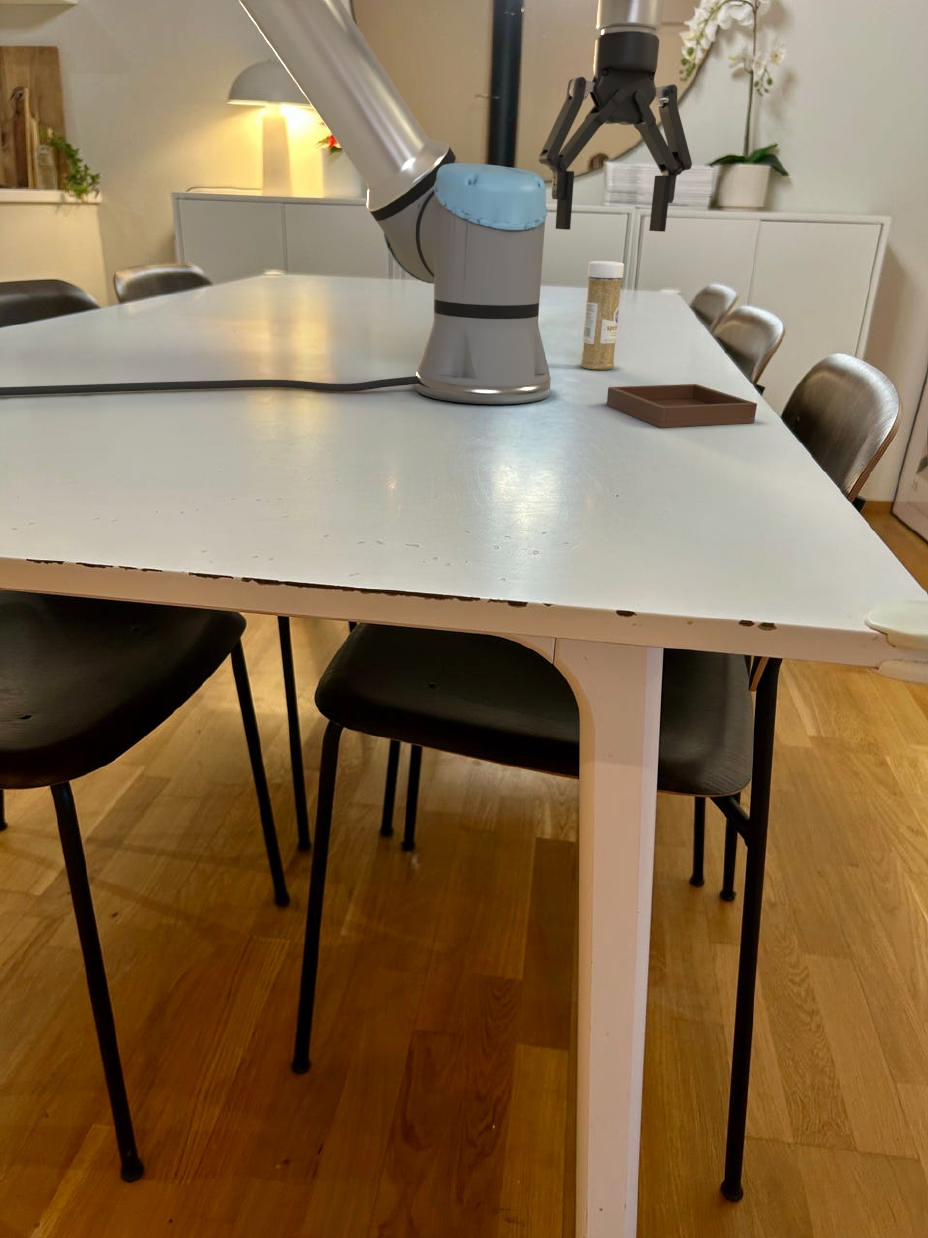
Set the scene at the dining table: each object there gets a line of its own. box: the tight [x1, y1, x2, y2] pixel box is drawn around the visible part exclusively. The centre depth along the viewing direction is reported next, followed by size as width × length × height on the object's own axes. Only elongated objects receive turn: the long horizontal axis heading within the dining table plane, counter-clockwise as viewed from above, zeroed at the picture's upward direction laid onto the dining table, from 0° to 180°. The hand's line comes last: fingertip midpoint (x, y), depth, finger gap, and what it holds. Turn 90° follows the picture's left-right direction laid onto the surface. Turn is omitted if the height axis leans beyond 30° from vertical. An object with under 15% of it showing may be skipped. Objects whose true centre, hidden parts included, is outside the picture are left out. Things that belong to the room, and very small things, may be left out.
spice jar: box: [580, 260, 625, 371], centre depth 120 cm, size 5×5×14 cm
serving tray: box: [606, 383, 758, 429], centre depth 96 cm, size 11×11×2 cm
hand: (610, 230), depth 115 cm, fingers open, 13 cm apart
